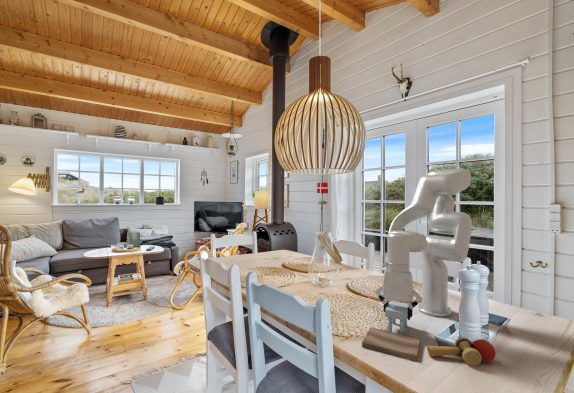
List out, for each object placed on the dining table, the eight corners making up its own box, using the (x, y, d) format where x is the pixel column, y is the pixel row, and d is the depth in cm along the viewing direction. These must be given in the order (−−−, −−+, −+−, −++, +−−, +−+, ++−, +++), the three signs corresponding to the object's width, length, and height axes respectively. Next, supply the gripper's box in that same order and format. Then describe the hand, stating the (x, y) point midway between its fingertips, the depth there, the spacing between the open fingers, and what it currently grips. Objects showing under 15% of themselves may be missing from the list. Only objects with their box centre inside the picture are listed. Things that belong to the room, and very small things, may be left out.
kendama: (435, 369, 83) (504, 366, 80) (431, 345, 84) (498, 342, 82) (427, 359, 91) (490, 356, 88) (423, 337, 92) (485, 334, 89)
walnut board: (370, 331, 103) (370, 327, 103) (420, 342, 95) (420, 338, 95) (361, 346, 92) (361, 342, 92) (416, 360, 85) (416, 355, 85)
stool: (389, 321, 111) (390, 300, 111) (409, 325, 108) (409, 304, 108) (385, 332, 102) (385, 309, 102) (406, 336, 99) (406, 313, 99)
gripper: (371, 266, 106) (370, 315, 106) (423, 273, 98) (423, 325, 98) (375, 262, 113) (375, 308, 113) (425, 268, 104) (424, 317, 104)
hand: (397, 316), depth 105 cm, fingers closed on stool, 7 cm apart
